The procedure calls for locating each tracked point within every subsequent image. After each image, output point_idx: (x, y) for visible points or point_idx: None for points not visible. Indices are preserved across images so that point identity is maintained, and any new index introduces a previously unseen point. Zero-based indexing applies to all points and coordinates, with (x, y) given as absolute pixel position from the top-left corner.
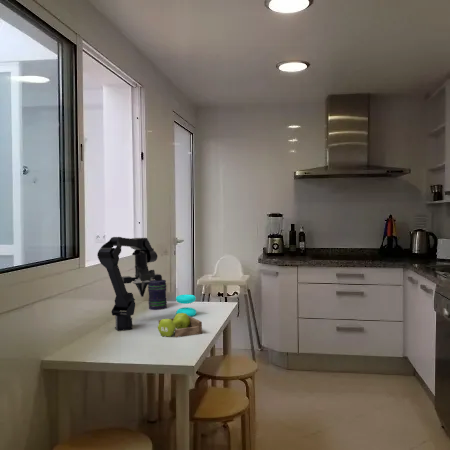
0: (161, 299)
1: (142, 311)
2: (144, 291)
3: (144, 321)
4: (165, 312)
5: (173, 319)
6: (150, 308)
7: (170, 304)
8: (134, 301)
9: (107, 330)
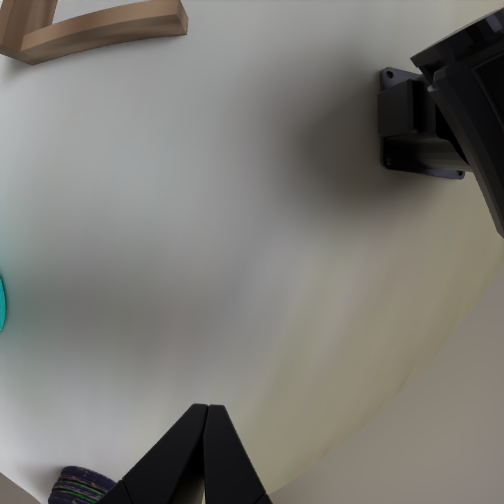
0: (64, 500)
1: None
2: (151, 458)
3: (218, 273)
4: (61, 416)
5: (72, 19)
6: None
7: None
8: (469, 57)
9: None
